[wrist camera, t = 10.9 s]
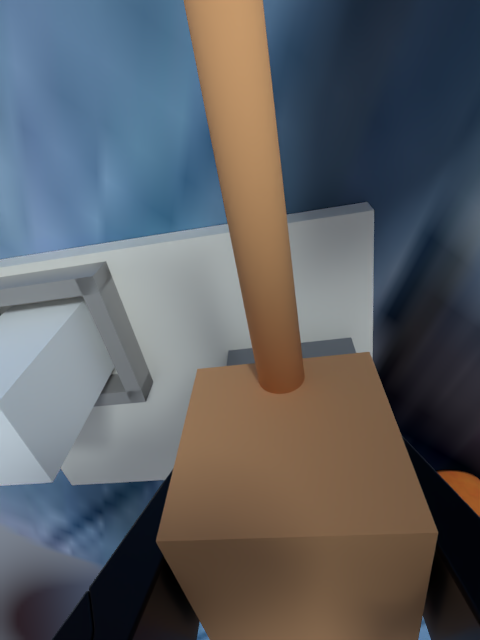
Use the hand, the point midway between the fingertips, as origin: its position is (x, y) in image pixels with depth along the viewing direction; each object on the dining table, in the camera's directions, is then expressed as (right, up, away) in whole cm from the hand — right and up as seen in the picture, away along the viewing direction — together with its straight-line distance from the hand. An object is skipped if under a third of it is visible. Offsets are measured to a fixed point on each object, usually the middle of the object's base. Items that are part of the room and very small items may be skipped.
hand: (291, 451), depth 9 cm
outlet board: (-4, 0, +12) cm, 13 cm away
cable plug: (-1, +4, -1) cm, 4 cm away
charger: (-10, +2, +10) cm, 14 cm away
